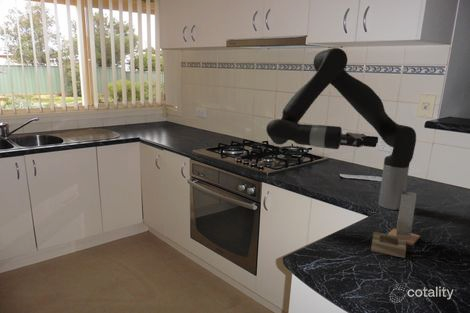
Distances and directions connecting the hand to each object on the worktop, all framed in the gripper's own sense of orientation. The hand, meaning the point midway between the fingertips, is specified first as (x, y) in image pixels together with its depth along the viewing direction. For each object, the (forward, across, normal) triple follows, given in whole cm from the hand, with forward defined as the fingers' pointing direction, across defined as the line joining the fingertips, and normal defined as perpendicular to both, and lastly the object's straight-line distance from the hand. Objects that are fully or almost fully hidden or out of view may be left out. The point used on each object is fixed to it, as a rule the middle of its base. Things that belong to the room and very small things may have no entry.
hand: (377, 141), depth 112 cm
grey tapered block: (+11, 0, +29) cm, 31 cm away
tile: (+11, 0, +30) cm, 32 cm away
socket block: (+7, -11, +30) cm, 33 cm away
